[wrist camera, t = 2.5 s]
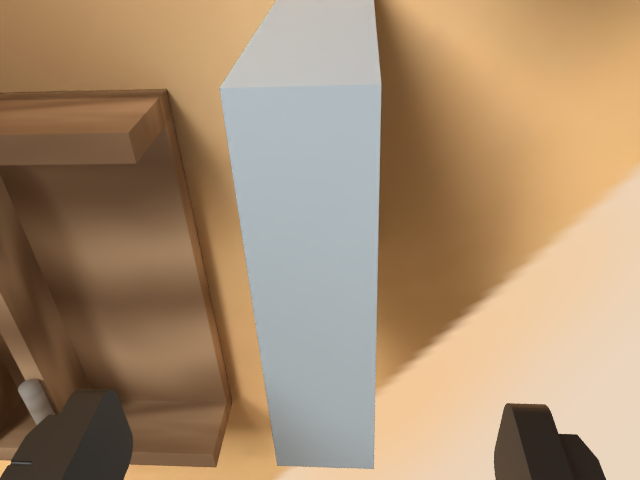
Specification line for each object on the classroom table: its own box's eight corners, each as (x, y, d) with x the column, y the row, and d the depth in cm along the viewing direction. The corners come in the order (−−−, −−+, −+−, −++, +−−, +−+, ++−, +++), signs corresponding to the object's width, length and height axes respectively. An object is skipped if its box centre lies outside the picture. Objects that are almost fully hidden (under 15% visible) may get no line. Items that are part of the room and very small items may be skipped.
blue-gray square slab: (290, -22, 20) (219, 88, 10) (371, -25, 20) (381, 84, 10) (308, 244, 27) (277, 465, 17) (369, 244, 26) (373, 468, 17)
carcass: (-145, 96, 24) (-252, 144, 20) (166, 89, 23) (123, 138, 18) (19, 396, 35) (-26, 467, 31) (232, 401, 34) (214, 475, 30)
